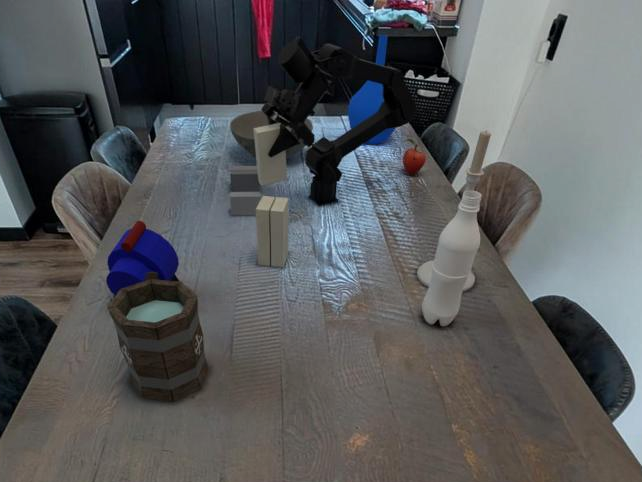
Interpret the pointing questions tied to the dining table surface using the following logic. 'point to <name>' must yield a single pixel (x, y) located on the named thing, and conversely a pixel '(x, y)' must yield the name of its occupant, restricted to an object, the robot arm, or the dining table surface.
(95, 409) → the dining table surface
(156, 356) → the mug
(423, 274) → the candlestick
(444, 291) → the water bottle
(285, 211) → the white books
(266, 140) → the cream rectangular block
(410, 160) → the apple
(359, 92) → the vase
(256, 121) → the bowl
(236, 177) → the grey books
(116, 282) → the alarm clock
